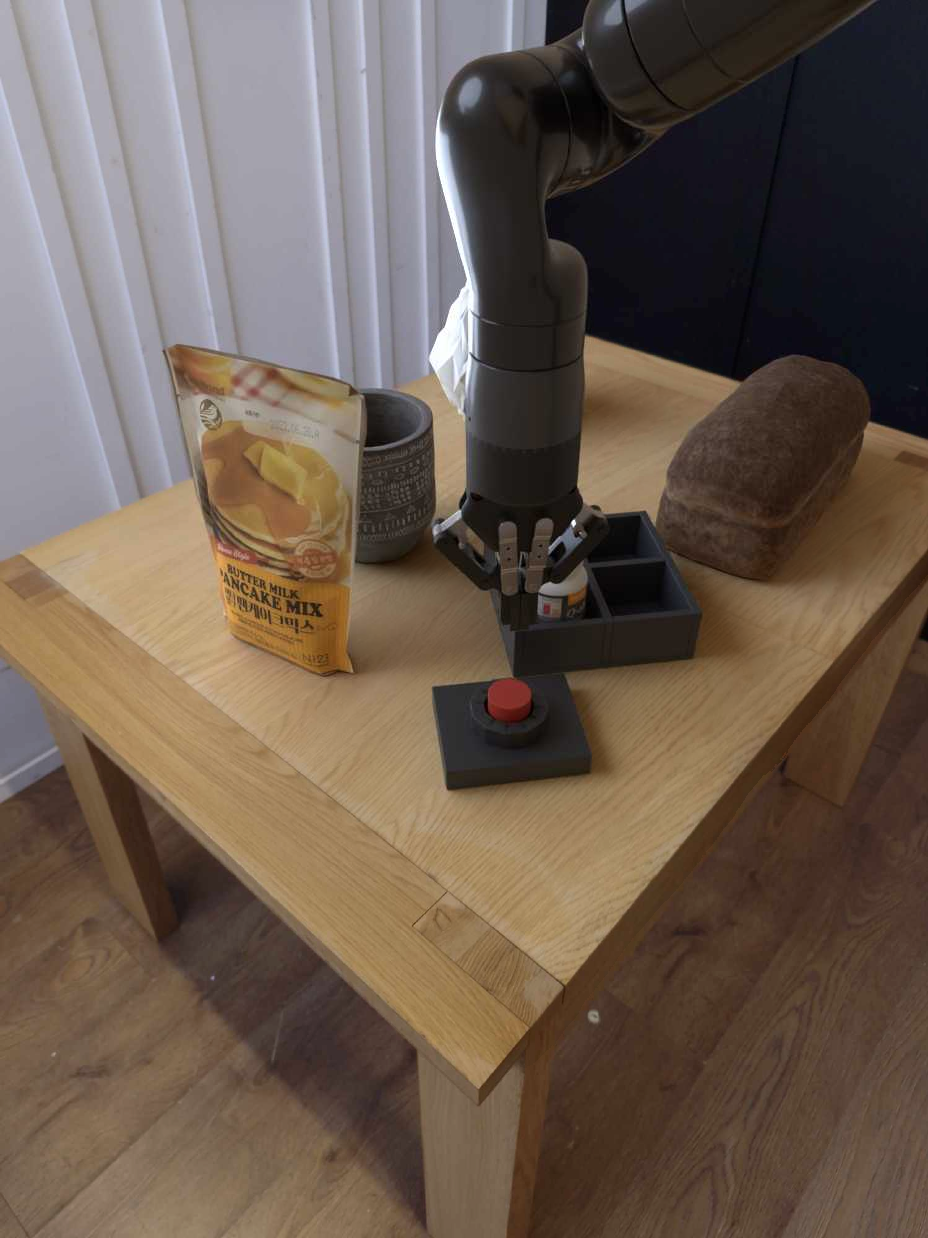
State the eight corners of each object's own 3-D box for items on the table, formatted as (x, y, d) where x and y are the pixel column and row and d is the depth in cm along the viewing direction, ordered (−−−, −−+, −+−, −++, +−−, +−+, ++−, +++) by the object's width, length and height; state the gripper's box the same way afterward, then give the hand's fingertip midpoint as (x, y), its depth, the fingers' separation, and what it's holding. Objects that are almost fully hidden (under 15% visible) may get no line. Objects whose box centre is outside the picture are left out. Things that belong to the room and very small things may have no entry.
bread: (862, 469, 111) (901, 347, 101) (763, 596, 91) (799, 461, 81) (751, 436, 117) (777, 319, 107) (637, 548, 98) (655, 417, 88)
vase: (408, 420, 122) (401, 284, 110) (478, 378, 132) (479, 250, 120) (504, 454, 114) (508, 312, 102) (571, 408, 124) (581, 274, 112)
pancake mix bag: (244, 589, 93) (189, 327, 75) (392, 652, 85) (371, 377, 67) (197, 624, 88) (128, 355, 70) (349, 694, 80) (314, 412, 63)
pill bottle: (577, 657, 83) (586, 572, 77) (517, 648, 84) (521, 564, 78) (585, 620, 87) (594, 536, 81) (528, 611, 88) (532, 528, 82)
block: (562, 690, 81) (565, 657, 78) (590, 773, 73) (594, 740, 71) (432, 703, 79) (431, 671, 77) (446, 790, 72) (445, 757, 69)
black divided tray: (639, 553, 97) (645, 510, 94) (693, 658, 84) (703, 613, 80) (483, 567, 95) (483, 524, 92) (513, 677, 82) (514, 631, 78)
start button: (526, 691, 76) (526, 676, 74) (534, 721, 73) (535, 706, 72) (484, 695, 75) (484, 680, 74) (491, 726, 72) (491, 711, 71)
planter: (462, 533, 100) (462, 412, 91) (376, 592, 92) (365, 466, 82) (372, 491, 107) (363, 375, 98) (284, 543, 99) (264, 422, 89)
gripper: (427, 452, 53) (436, 665, 64) (640, 435, 54) (614, 647, 65) (415, 398, 59) (425, 602, 70) (608, 383, 60) (589, 586, 71)
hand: (517, 623), depth 68 cm, fingers closed
